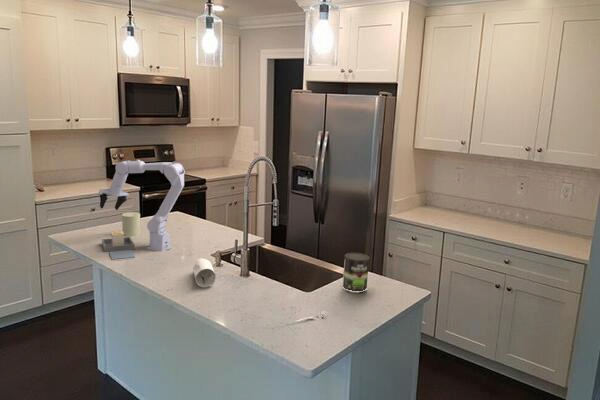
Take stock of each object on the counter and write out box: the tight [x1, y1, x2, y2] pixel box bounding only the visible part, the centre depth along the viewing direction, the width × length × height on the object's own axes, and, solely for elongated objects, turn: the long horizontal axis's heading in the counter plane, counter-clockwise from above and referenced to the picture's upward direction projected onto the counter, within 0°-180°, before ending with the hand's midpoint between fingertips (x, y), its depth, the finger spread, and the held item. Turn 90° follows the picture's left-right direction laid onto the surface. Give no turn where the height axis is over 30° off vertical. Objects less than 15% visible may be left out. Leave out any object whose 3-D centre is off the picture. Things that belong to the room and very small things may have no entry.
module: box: [111, 230, 125, 246], centre depth 232 cm, size 5×5×7 cm
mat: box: [108, 250, 136, 262], centre depth 221 cm, size 10×10×1 cm
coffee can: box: [342, 252, 370, 291], centre depth 197 cm, size 10×10×14 cm
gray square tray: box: [101, 236, 136, 253], centre depth 233 cm, size 13×13×3 cm
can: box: [121, 211, 141, 237], centre depth 253 cm, size 9×9×12 cm
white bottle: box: [192, 257, 217, 288], centre depth 199 cm, size 8×19×8 cm, turn 17°
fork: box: [296, 310, 329, 321], centre depth 167 cm, size 3×20×2 cm, turn 121°
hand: (108, 208), depth 235 cm, fingers open, 7 cm apart
